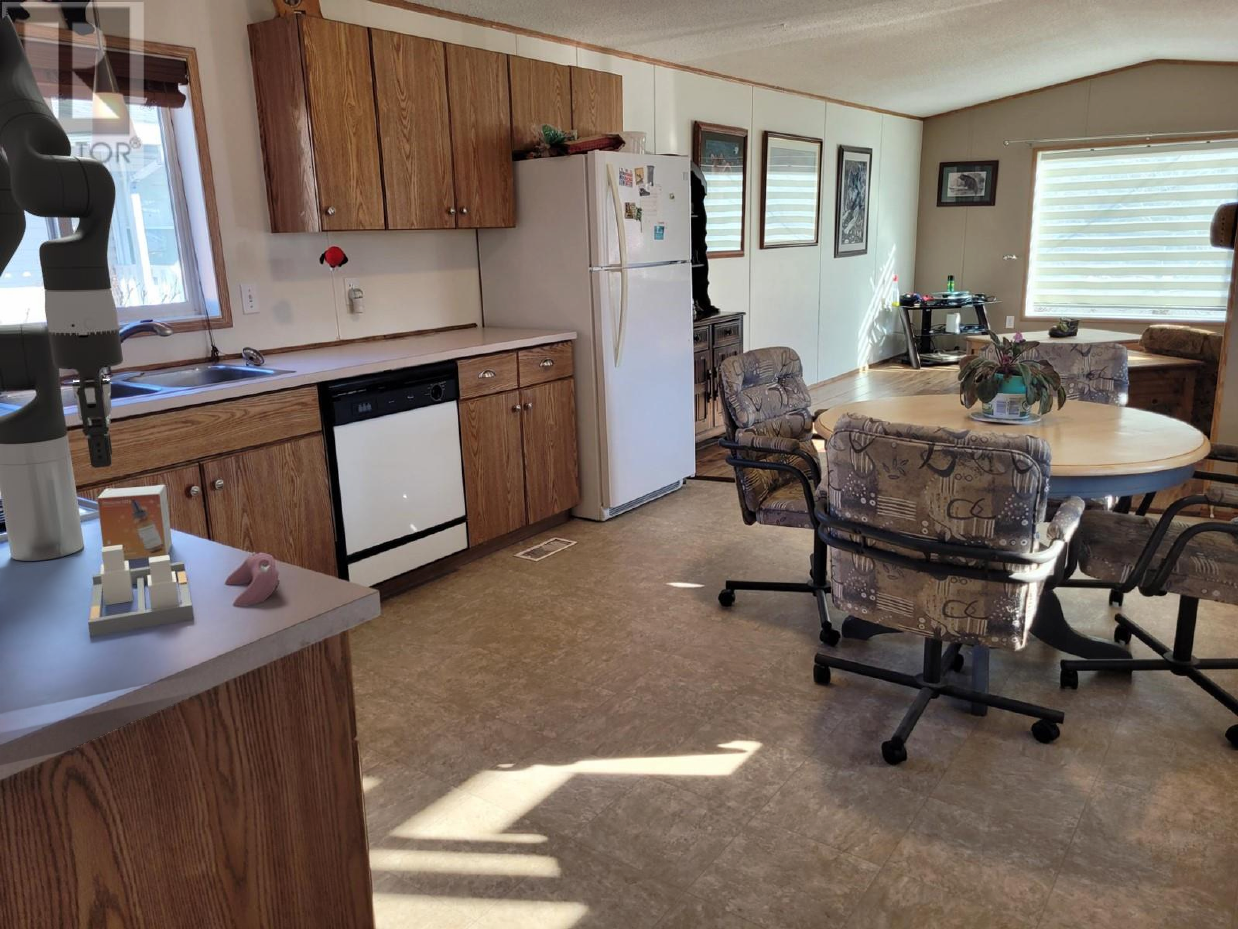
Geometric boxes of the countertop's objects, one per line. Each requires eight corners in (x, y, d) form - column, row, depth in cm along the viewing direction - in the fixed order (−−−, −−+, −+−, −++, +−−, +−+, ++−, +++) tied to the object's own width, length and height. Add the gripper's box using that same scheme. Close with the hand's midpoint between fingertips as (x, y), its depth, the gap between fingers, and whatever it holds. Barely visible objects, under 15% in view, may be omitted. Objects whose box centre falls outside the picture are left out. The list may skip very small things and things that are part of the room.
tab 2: (151, 606, 109) (144, 555, 108) (178, 601, 111) (172, 551, 109) (152, 617, 106) (145, 566, 104) (180, 613, 107) (174, 561, 106)
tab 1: (105, 594, 113) (98, 545, 111) (132, 590, 114) (125, 541, 113) (105, 605, 110) (97, 554, 108) (132, 600, 111) (125, 551, 109)
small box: (105, 570, 125) (94, 498, 123) (113, 557, 130) (103, 487, 128) (168, 564, 127) (159, 493, 125) (174, 552, 133) (165, 483, 130)
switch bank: (94, 593, 117) (91, 571, 116) (187, 578, 122) (184, 557, 121) (89, 652, 100) (85, 627, 99) (197, 633, 105) (194, 609, 104)
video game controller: (267, 623, 111) (289, 571, 111) (230, 614, 109) (253, 561, 109) (255, 597, 120) (276, 549, 120) (220, 588, 117) (241, 539, 117)
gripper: (51, 324, 114) (71, 453, 118) (42, 333, 102) (64, 477, 106) (119, 321, 118) (135, 447, 122) (118, 330, 105) (136, 470, 109)
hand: (102, 460), depth 114 cm, fingers open, 5 cm apart
